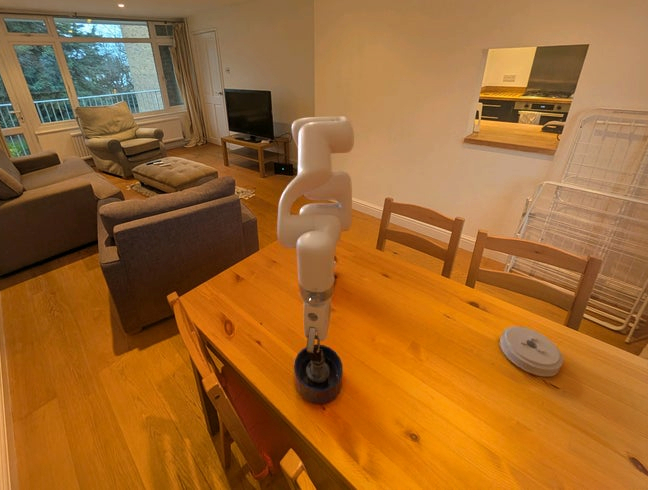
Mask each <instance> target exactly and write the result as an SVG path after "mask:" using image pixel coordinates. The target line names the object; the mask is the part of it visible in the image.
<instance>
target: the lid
mask: <svg viewBox="0 0 648 490" xmlns="http://www.w3.org/2000/svg"><path fill="white" fill-rule="evenodd" d="M499 346H500V349H501V351H502V353H503V354H504V355H505V356H506V358H507V359H508V361H510V362H512V364H514V365H515V366H517V367H518V368H519V369H521V370H523V371H525V372H527V373H529V374H533V375H535V376H540V377H546V378H547V377H553V376H555V375H557V374H558V373H559V372H560V369H561V367H562V365H563V363H564V357H563V354H562V351H560V349H559V347H558V346H557V345H556V344H555V342H553V341H552V340H551V339H549V338H548V337H547V336H545V335H544V334H542V333H540V332H538V331H536V330H534V329H531V328H529V327H524V326H519V325H512V326H508V327H506V328H504V329H503V331H502V333H501V336H500V339H499Z"/></svg>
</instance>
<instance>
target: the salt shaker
mask: <svg viewBox="0 0 648 490" xmlns="http://www.w3.org/2000/svg"><path fill="white" fill-rule="evenodd" d="M306 373H307V376H308V383H309V385H310V386H311V387H312V388H316V389H323V388H325V387H326V386H327V384H328V376H329V373H330V372H329V367H328V365H327V364H326V363H325V359H324V357H323V350H322V349H321V361H320V362H319V361H311V360H310V363H309V364H308V365H307V368H306Z"/></svg>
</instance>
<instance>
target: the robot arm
mask: <svg viewBox="0 0 648 490" xmlns="http://www.w3.org/2000/svg"><path fill="white" fill-rule="evenodd" d="M291 135H292V138H293V141H294V143H295V146H296V149H297V175H295V177H294V178H293V179H292V180H291V181H290V182H289V183H288V184H287V185H286V187H285V188H284V190H283V192H282V194H281V195H280V198H279V202H278V206H277V208H278V209H277V220H276V221H277V222H276V223H277V224H276V231H277V232H276V235H277V240H278V242H279V244H280V245H281V246H282V247H284V248H287V249H296V265H297V279H298V281H297V283H298V294H299V297H300V298H301V299H302V300H303V306H302V307H303V308H302V309H303V333H304V337H305V338H306V346H305V347H306V352H307V359H309V360H311V361H319V362H320V361H321V348H320V345H321V342H325V341H326V340H327V339H328V336H329V335H328V334H329V329H330V322H331V315H332V299H333V297H334V294H335V267H336V266H337V265H338V263H337V261H335V255H336V254H335V253H336V250H337V247H338V243H339V242H340V240H341V238H342V237H341V236H342V232H343V233H344V232H347V231H349V230H351V228H352V225H353V183H352V178H351V176H350V174H349V172H347V171H344V170H333V168H332V154H347V153H350V152H351V151H352V150H353V148H354V145H355V132H354V127H353V124H352V123H351V121H350V119H349V118H348V117H347V116H344V115H338V116H337V115H336V116H335V115H334V116H333V115H332V116H310V117H309V116H308V117H307V116H306V117H302V118H297V119H295V120H294V121H293V122H292V124H291ZM301 196H304V197H305V198H306V199H307V200H310V201H336V202H333V203H332V202H331V203H326V202H323V203H322V202H321V203H319V202H318V203H317V202H315V203H308V204H304V205H303V206H301V208H300V209H299V213H298V214H291V209H292V205H293V204H294V203H295V201H296V200H297V199H299V198H300V197H301ZM315 342H316V343H315ZM315 344H317V345H315Z"/></svg>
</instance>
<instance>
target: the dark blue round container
mask: <svg viewBox="0 0 648 490" xmlns="http://www.w3.org/2000/svg"><path fill="white" fill-rule="evenodd" d="M314 345H317V343H314ZM320 348H321V349H322V350H323V357H324V359H325V363H326V364H327V365H328V367H329V372H330V373H329V376H328V384H327V386H326V387H325V388H323V389H316V388H312V387H311V386H310V385H309V383H308V376H307V373H306V368H307V365H308V364H309V363H310V360H309V359H307V352H306V346H305V347H304V348H302V349H301V350H300V351H298V353H297V355H296V357H295V359H294V363H293V371H294V383H295V389H296V391H297V392H298V394H299V396H300V397H301V398H302V399H303V400H305V401H306V402H308V403H310V404H312V405H314V406H315V405H318V406H325V405H329V404H330V403H332V402H333V401H335V400H336V399H337V398H338V397H339V395H340V394H341V391H342V388H343V378H344V377H343V375H344V374H343V373H344V372H343V371H344V370H343V368H344V367H343V363H342V359H341V357H340V356H339V354H338V353H337V352H336V351H335V350H334V349H333V348H331V347H329V346H327V345H324V344H320Z"/></svg>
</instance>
